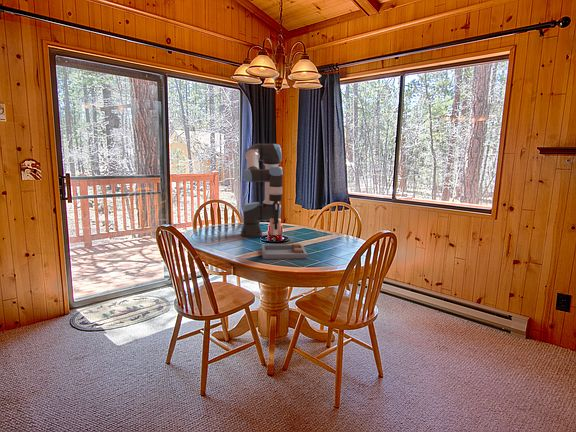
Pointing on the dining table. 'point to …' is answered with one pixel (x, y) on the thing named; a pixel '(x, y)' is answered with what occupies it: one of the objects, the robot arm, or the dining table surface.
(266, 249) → the tray
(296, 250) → the cube
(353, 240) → the dining table surface
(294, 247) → the cube
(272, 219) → the tan u-shaped piece
